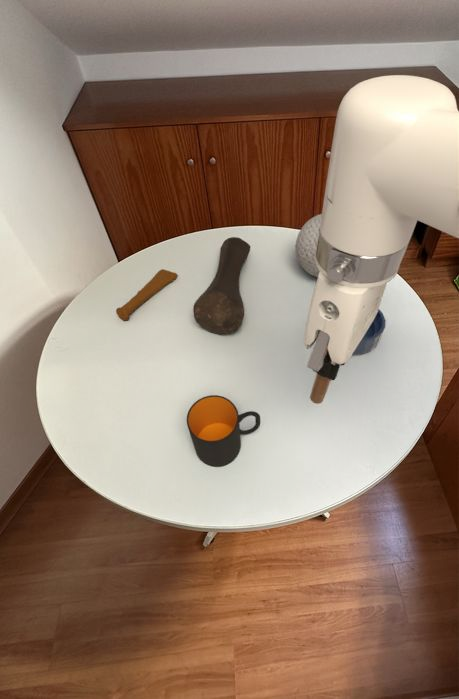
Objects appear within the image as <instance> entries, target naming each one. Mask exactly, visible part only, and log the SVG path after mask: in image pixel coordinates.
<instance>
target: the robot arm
mask: <svg viewBox="0 0 459 699" xmlns="http://www.w3.org/2000/svg"><path fill="white" fill-rule="evenodd" d="M331 142H332V143H331V148H330V156H329V162H328V170H327V176H326V182H325V189H324V194H323V195H324V196H323V203H322V209H321V214H322V216H321V223H320V228H319V235H318V241H317V248H316V255H315V263H316V266H317V268H318V269H319V271H320V272H319V275H318V277H317V279H316V282H315V287H314V289H313V293H312V297H311V301H310V305H309V310H308V314H307V319H306V324H305V330H304V338H303V339H304V346H305V348H306V349H307V350H308V349H311V348H312V347H313V349H312V351H311V353H310V357H309V359H308V363H307V365H306V367H307V368H308V369H311V370H312V371H313V372H314V373H316V375H317V374H318V375H320V376H322V377H326V378H328V379H330V380H331V381H335V380H336V379H337V378H338V373H339V371H340V367H343V366H345V364H346V363H347V362H348V361H349V360H350V358H351V357H352V356H353V355H352V354H353V352H354V351H355V349H356V347H357V346H358V344H359V343H360V341H361V340H362V338H363V336H364V335H365V333H366V332H367V330H368V328H369V327H370V325H371V324H372V322H373V320H374V318H375V317H376V315H377V312H378V310H379V309H380V306H381V303H382V299H383V297H384V294H385V290H386V287H387V283H389V282H391V281H392V280H393V279H394V278H395V277H396V276H397V274H398V272H399V269H400V267H401V264H402V262H403V259H404V257H405V254H406V251H407V249H408V246H409V244H410V241H411V239H412V236H413V234H414V230H415V228H416V225H417V223H418V222H420V223H423V224H425V225H428V226H429V227H431V228H434V229H436V230H439V231H441V232H443V233H444V234H447V235H449V236H452V237H453V238H457V239H459V110H458V105H457V100H456V96H455V95H454V93H453V92H452V91H451V89H450V88H449V87H448V86H446V85H444V84H442V83H440V82H439V81H436V80H433V79H430V78H427V77H421V76H417V75H408V74H393V75H382V76H377V77H372V78H369V79H366V80H362V81H360V82H358V83H357V84H355V85H354V86H352V87H351V88H350V89H349V90H348V91H347V92H346V94H345V95H344V96H343V98H342V100H341V102H340V104H339V106H338V109H337V114H336V117H335V123H334V129H333V136H332V141H331Z"/></svg>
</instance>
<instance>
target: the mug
mask: <svg viewBox="0 0 459 699" xmlns="http://www.w3.org/2000/svg"><path fill="white" fill-rule="evenodd" d="M247 417H254V420H255V424H254V425H253V427H251V428H249V429H245V430H243V429H241V426H240V425H241V424H240V423H241V422H242V421H244V419H245V418H247ZM186 426H187V429H188V432H189V436H190V439H191V442H192V444H193V448H194V451H195V454H196V456H197V458H198V459H199V460H200V461H201V463H203V464H205V465H207V466H209V467H213V468H220V467H225V466H227V465H229V464H231V463H233V462H235V460H236V458H238V456H239V454H240V451H241V448H242V438H241V436H245V435H249V434H252V433H254V432H256V431H257V430H258V429H259V428H260V426H261V415H260V413H258V412H257V411H253V410H250V411H249V410H248V411H246V412H243V413H240V414H239V411H238V408H237V406H236V405H235V404H234V402H233V401H232V400H230V399H229V398H227V397H225V396H222V395H216V394H212V395H206V396H203V397H201V398H199V399H198V400H196V401H195V402H193V404H192V405H191V406H190V408H189V409H188V411H187V415H186Z"/></svg>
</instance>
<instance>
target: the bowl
mask: <svg viewBox="0 0 459 699" xmlns="http://www.w3.org/2000/svg"><path fill="white" fill-rule="evenodd" d="M385 329H386V318H385V315H384V313H383V312H382V310H381V309H380V308H379V310H378V312H377V315H376V317H375V318H374V320H373V322H372V324H371V325H370V327H369V328H368V330H367V332H366V333H365V335H364V336H363V338H362V340H361V341H360V343H359V344H358V346H357V347H356V349H355V351H354V352H353V354H352V355H351V356H356V355H364V354H367V353H369V352H371V351H373V350H374V349H376V347H377V346H378V344H379V343H380V341H381V338H382V336H383V333H384V331H385Z"/></svg>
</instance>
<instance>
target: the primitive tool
mask: <svg viewBox="0 0 459 699" xmlns="http://www.w3.org/2000/svg"><path fill="white" fill-rule="evenodd" d="M178 276H179V275H178V273H177V272H173V271H171V270H167V269H164V268H163V269H160V270H158V271H157V272H156V273H155V275H154V276H153V277H152V278H151V279H150V280H149V281H148V282H147V283H146V284H145V285H144V286H143V287H142V288H141V289H140V290H138V291H137V293H136V294H135V295H134V296H133V297H132V298H130V300H128V301H127V302H126V303H125V304H123V305H122V306H121V307H117V308H116V310H115V313H116V315H117V316H118V318H119V319H120V320H122V321H125V322H127V321H128V320H129V318H130V316H131V314H132V313H133V312H134V311H136V310H137V309H138V308H139V307H141V306H142V305H143V304H146V302H147V301H148V300H149V299H151V297H153V296H154V295H156V294H157V293H158V292H160V291H161V290H163V289H164V288H165V287H166V286H168V285H169V284H170V283H172V282H173V281H175V280H176V279H177V278H178Z"/></svg>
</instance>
